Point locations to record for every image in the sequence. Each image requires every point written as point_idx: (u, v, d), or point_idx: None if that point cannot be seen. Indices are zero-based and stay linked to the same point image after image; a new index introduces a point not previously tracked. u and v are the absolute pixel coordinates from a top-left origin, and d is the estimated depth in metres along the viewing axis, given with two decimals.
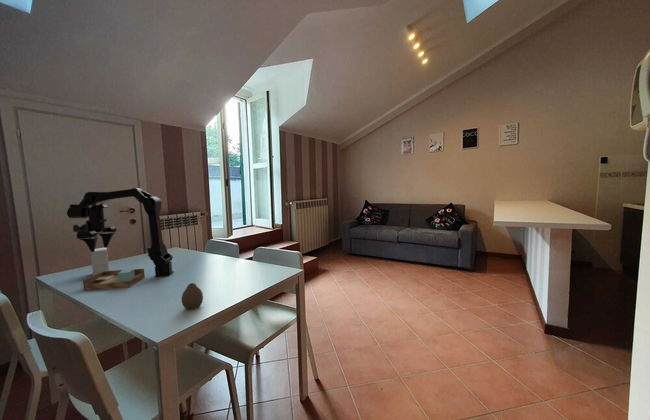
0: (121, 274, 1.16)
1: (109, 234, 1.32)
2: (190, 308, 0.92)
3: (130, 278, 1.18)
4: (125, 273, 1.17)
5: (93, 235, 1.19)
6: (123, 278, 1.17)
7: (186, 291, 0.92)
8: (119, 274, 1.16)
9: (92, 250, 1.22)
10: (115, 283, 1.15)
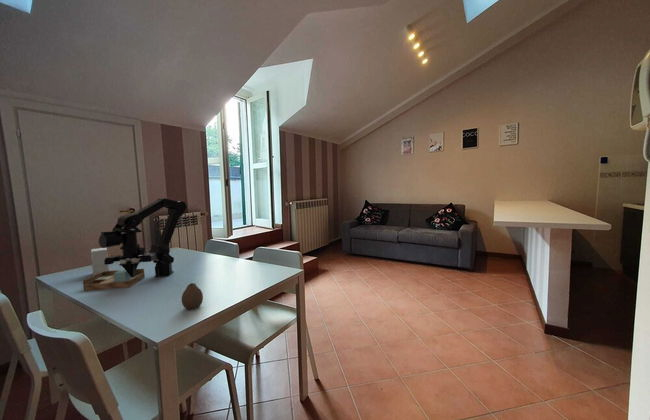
0: (117, 274, 1.16)
1: None
2: (190, 308, 0.92)
3: (126, 278, 1.18)
4: (121, 273, 1.16)
5: (107, 262, 1.14)
6: (119, 279, 1.16)
7: (186, 291, 0.92)
8: (115, 274, 1.16)
9: None
10: (115, 283, 1.15)
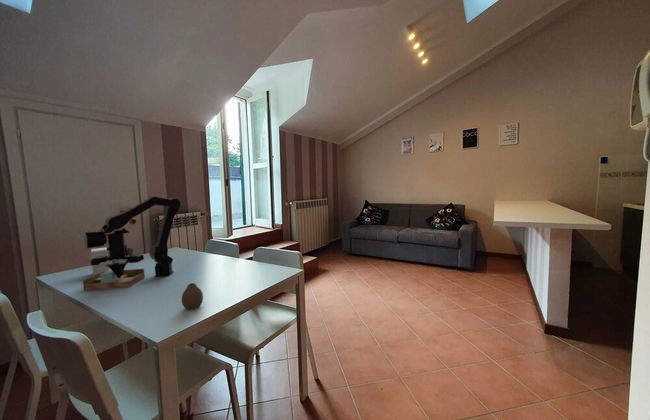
0: (104, 275, 1.15)
1: None
2: (190, 308, 0.92)
3: (113, 279, 1.17)
4: (108, 274, 1.15)
5: (93, 263, 1.13)
6: (106, 279, 1.15)
7: (186, 291, 0.92)
8: (102, 275, 1.15)
9: None
10: (115, 283, 1.15)
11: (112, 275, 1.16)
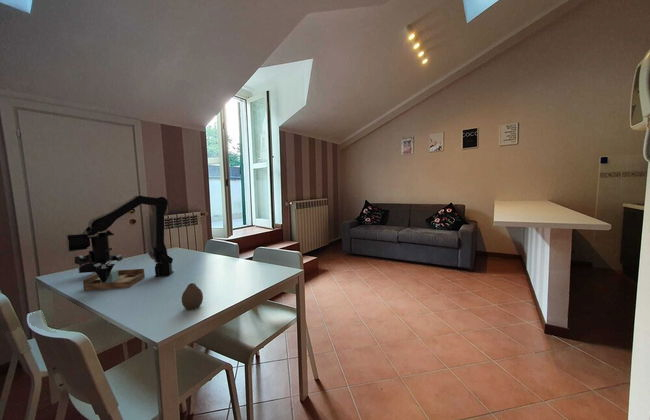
0: None
1: (108, 266, 1.14)
2: (190, 308, 0.92)
3: (113, 279, 1.17)
4: None
5: (97, 268, 1.06)
6: None
7: (186, 291, 0.92)
8: None
9: (103, 281, 1.13)
10: (115, 283, 1.15)
11: (112, 275, 1.16)
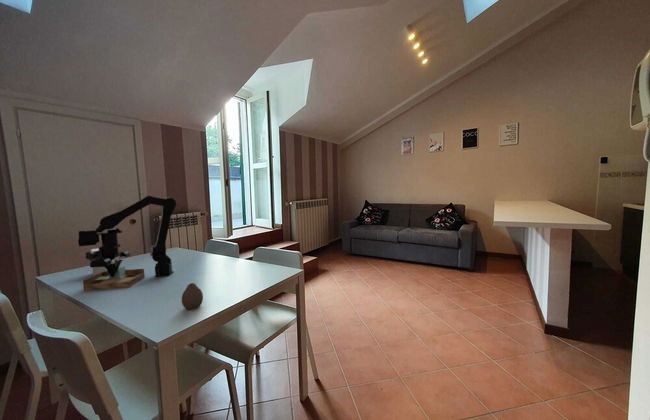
0: None
1: None
2: (190, 308, 0.92)
3: (121, 275, 1.23)
4: None
5: (107, 263, 1.12)
6: None
7: (186, 291, 0.92)
8: None
9: (112, 276, 1.19)
10: (115, 283, 1.15)
11: (120, 271, 1.22)
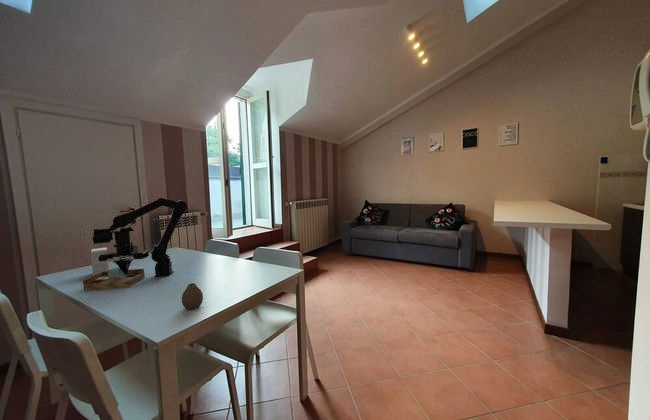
0: (111, 271, 1.21)
1: None
2: (190, 308, 0.92)
3: (120, 275, 1.23)
4: (115, 270, 1.21)
5: (101, 259, 1.19)
6: (113, 275, 1.21)
7: (186, 291, 0.92)
8: (109, 271, 1.21)
9: None
10: (115, 283, 1.15)
11: (119, 271, 1.22)
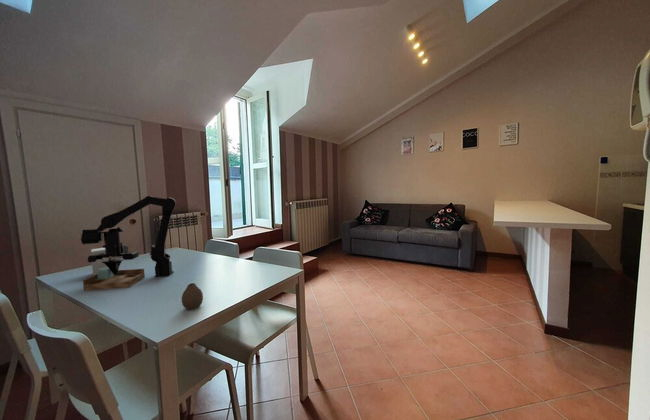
0: (100, 271, 1.20)
1: None
2: (190, 308, 0.92)
3: (109, 275, 1.22)
4: (104, 271, 1.21)
5: (90, 260, 1.19)
6: (102, 276, 1.21)
7: (186, 291, 0.92)
8: (99, 271, 1.20)
9: None
10: (115, 283, 1.15)
11: (108, 271, 1.21)
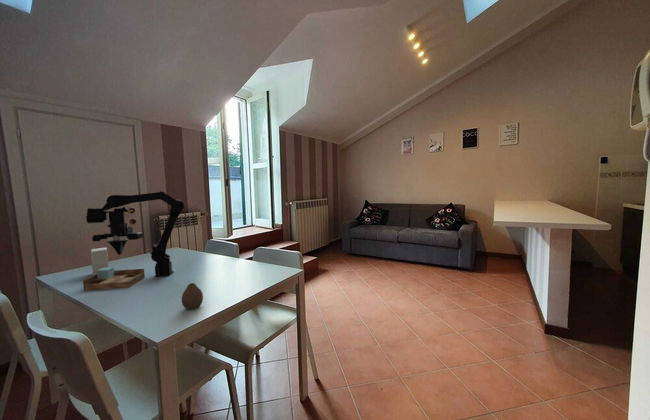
0: (100, 271, 1.20)
1: None
2: (190, 308, 0.92)
3: (109, 275, 1.22)
4: (104, 271, 1.21)
5: (95, 239, 1.18)
6: (102, 276, 1.21)
7: (186, 291, 0.92)
8: (98, 271, 1.20)
9: None
10: (115, 283, 1.15)
11: (108, 271, 1.21)
